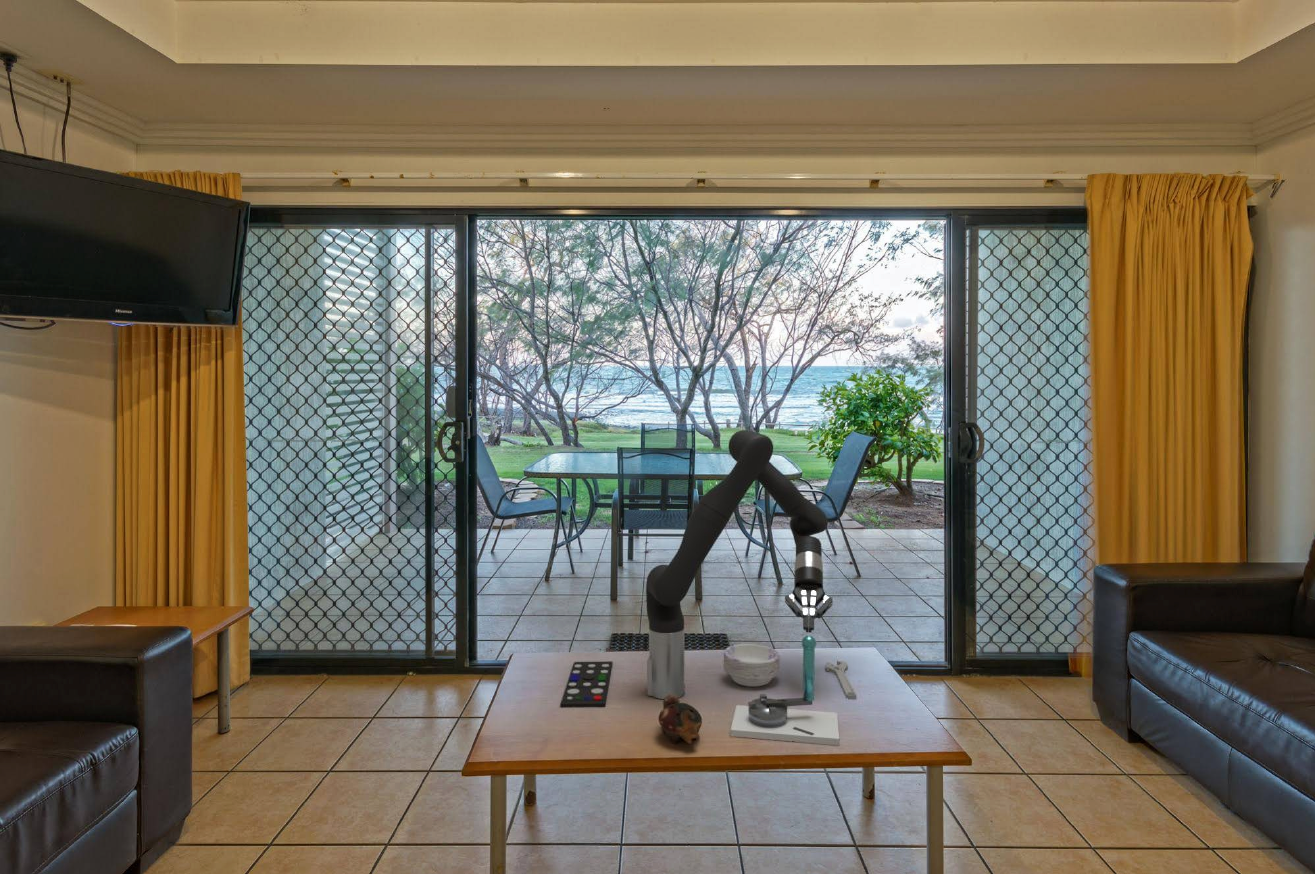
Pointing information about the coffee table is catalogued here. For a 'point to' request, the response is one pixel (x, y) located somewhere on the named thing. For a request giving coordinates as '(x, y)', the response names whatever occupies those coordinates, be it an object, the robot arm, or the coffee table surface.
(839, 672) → the adjustable wrench
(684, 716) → the decorative turtle
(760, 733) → the white rectangular board
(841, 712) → the coffee table surface
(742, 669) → the paper bowls
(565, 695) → the remote control
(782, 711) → the teal handled crank
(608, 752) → the coffee table surface
